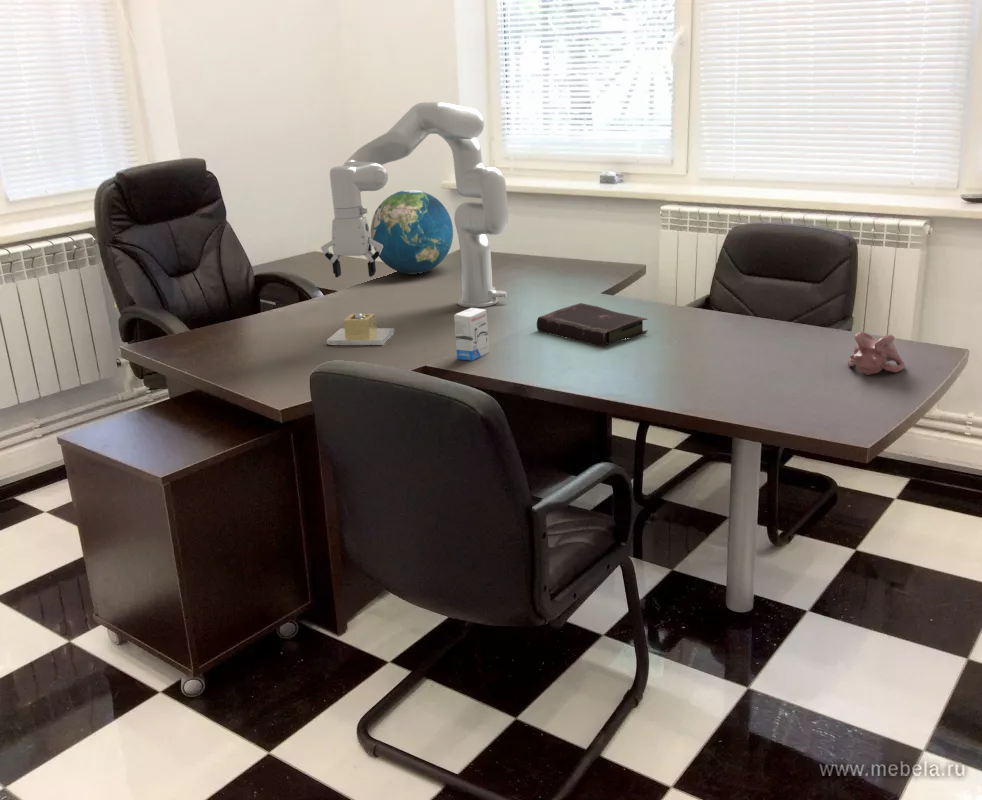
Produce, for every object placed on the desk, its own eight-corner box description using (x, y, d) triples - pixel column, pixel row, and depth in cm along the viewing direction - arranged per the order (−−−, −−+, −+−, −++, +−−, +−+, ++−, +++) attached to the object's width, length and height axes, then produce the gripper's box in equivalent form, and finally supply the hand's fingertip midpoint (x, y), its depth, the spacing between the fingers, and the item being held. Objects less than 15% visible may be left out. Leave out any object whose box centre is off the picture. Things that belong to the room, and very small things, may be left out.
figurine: (848, 378, 223) (833, 365, 211) (857, 337, 223) (843, 321, 211) (902, 386, 216) (890, 373, 204) (911, 343, 217) (899, 328, 204)
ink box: (472, 361, 238) (469, 316, 234) (455, 359, 240) (452, 315, 236) (489, 352, 245) (487, 308, 241) (474, 350, 247) (471, 306, 243)
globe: (465, 264, 351) (460, 183, 341) (440, 282, 325) (434, 195, 314) (392, 264, 359) (385, 185, 349) (361, 282, 333) (353, 196, 322)
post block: (394, 333, 267) (392, 307, 264) (382, 345, 256) (380, 319, 253) (341, 333, 270) (338, 308, 267) (327, 345, 258) (324, 319, 256)
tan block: (376, 330, 265) (375, 313, 263) (369, 337, 258) (367, 320, 257) (353, 330, 266) (351, 313, 264) (345, 337, 260) (343, 320, 258)
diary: (603, 350, 243) (602, 332, 242) (536, 333, 261) (536, 316, 260) (649, 333, 254) (649, 315, 253) (583, 318, 272) (582, 302, 271)
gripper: (383, 210, 253) (389, 272, 258) (322, 212, 256) (329, 273, 262) (375, 214, 246) (381, 278, 252) (312, 216, 249) (320, 279, 255)
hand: (355, 275), depth 257 cm, fingers open, 9 cm apart
